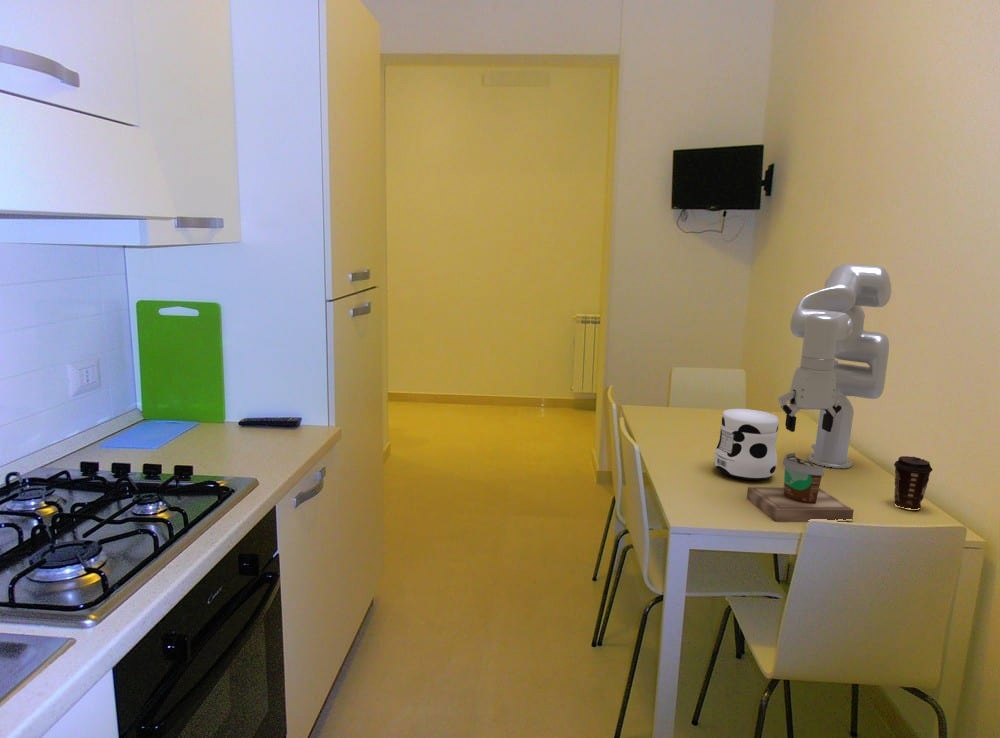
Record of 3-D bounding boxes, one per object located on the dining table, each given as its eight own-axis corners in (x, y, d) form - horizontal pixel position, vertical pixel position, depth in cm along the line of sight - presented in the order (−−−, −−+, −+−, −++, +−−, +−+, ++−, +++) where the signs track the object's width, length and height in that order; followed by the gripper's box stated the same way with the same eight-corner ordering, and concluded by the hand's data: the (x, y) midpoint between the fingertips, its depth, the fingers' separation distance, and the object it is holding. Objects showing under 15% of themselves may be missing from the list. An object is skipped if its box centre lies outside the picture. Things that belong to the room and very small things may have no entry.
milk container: (779, 473, 216) (787, 414, 213) (768, 489, 201) (776, 426, 198) (721, 461, 225) (727, 404, 221) (706, 476, 210) (712, 415, 207)
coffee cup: (914, 501, 197) (921, 455, 195) (933, 513, 189) (941, 465, 186) (882, 500, 197) (889, 454, 194) (900, 512, 189) (907, 464, 186)
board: (746, 497, 193) (747, 486, 193) (817, 498, 196) (818, 487, 195) (775, 521, 178) (777, 509, 177) (852, 521, 180) (853, 509, 180)
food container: (768, 489, 191) (773, 452, 190) (789, 488, 193) (794, 452, 191) (797, 506, 180) (803, 468, 178) (819, 505, 181) (824, 467, 179)
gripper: (840, 361, 185) (832, 426, 188) (776, 360, 182) (768, 426, 186) (858, 367, 177) (848, 435, 181) (791, 366, 175) (783, 434, 179)
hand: (808, 430), depth 183 cm, fingers open, 9 cm apart
